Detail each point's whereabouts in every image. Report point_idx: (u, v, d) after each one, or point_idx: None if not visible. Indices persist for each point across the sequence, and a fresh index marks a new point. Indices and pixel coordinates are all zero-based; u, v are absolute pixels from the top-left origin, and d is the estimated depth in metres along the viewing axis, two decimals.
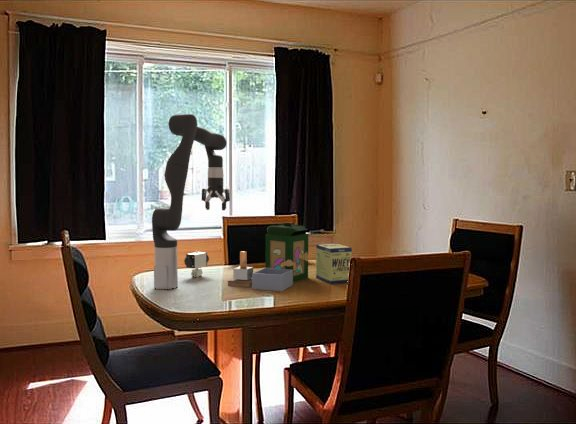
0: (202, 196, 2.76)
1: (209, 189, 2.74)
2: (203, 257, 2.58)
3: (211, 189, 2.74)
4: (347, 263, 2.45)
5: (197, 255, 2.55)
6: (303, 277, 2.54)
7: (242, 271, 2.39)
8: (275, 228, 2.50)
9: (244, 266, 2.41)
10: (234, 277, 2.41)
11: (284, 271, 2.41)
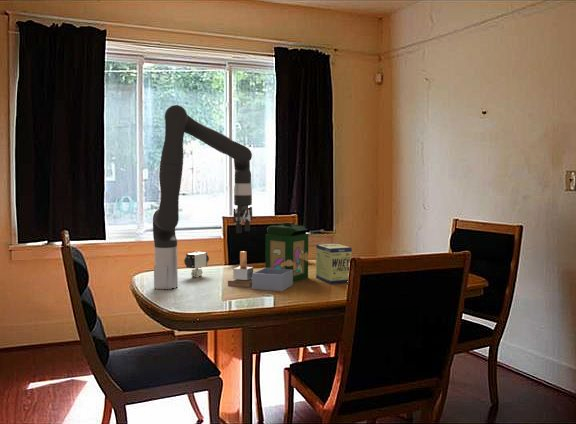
0: (239, 218, 2.34)
1: (242, 209, 2.37)
2: (203, 257, 2.58)
3: (243, 208, 2.39)
4: (347, 263, 2.45)
5: (197, 255, 2.55)
6: (303, 277, 2.54)
7: (242, 271, 2.39)
8: (275, 228, 2.50)
9: (244, 266, 2.41)
10: (234, 277, 2.41)
11: (284, 271, 2.41)
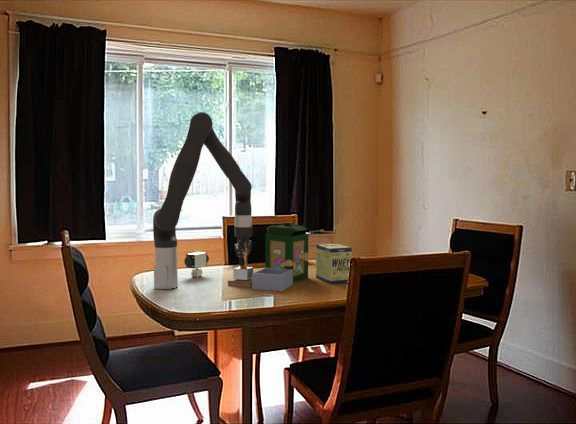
0: (241, 252, 2.37)
1: (242, 240, 2.38)
2: (203, 257, 2.58)
3: (244, 240, 2.40)
4: (347, 263, 2.45)
5: (197, 255, 2.55)
6: (303, 277, 2.54)
7: (242, 271, 2.39)
8: (275, 228, 2.50)
9: (244, 266, 2.41)
10: (234, 277, 2.41)
11: (284, 271, 2.41)
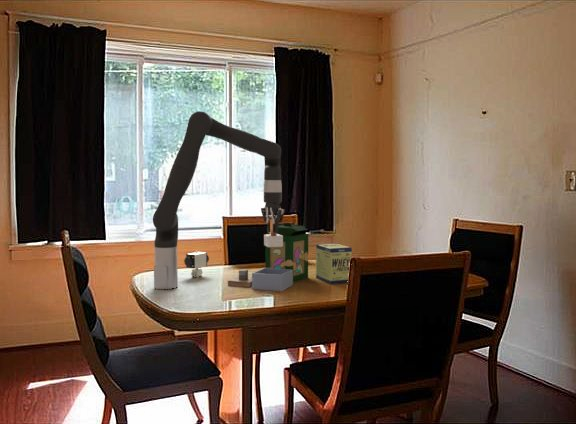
0: None
1: None
2: (203, 257, 2.58)
3: None
4: (347, 263, 2.45)
5: (197, 255, 2.55)
6: (303, 277, 2.54)
7: (277, 238, 2.33)
8: None
9: (276, 233, 2.35)
10: (269, 245, 2.32)
11: (284, 271, 2.41)
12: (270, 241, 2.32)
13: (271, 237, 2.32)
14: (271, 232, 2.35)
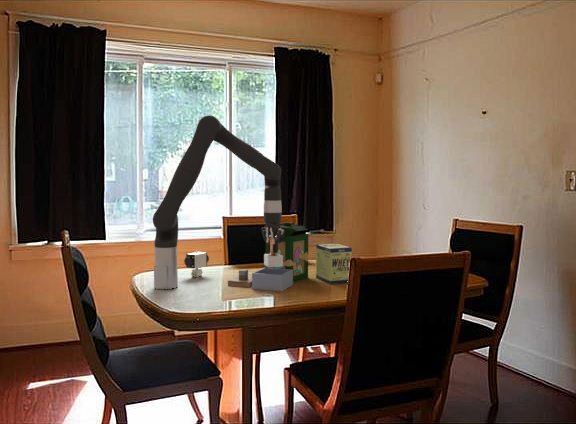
0: None
1: None
2: (203, 257, 2.58)
3: None
4: (347, 263, 2.45)
5: (197, 255, 2.55)
6: (303, 277, 2.54)
7: (277, 258, 2.34)
8: None
9: (276, 253, 2.36)
10: (269, 265, 2.33)
11: (284, 271, 2.41)
12: (270, 261, 2.33)
13: (271, 257, 2.33)
14: (271, 252, 2.35)
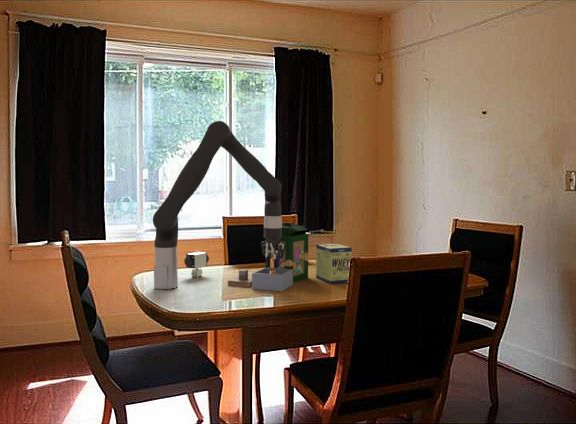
0: None
1: None
2: (203, 257, 2.58)
3: None
4: (347, 263, 2.45)
5: (197, 255, 2.55)
6: (303, 277, 2.54)
7: None
8: None
9: (276, 273, 2.36)
10: None
11: (284, 271, 2.41)
12: None
13: None
14: (271, 272, 2.36)
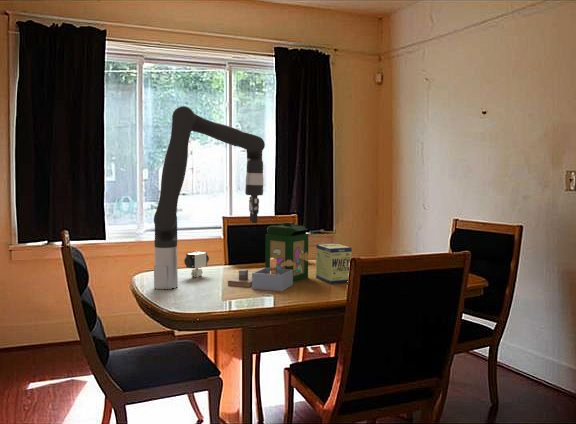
0: None
1: None
2: (203, 257, 2.58)
3: None
4: (347, 263, 2.45)
5: (197, 255, 2.55)
6: (303, 277, 2.54)
7: None
8: (275, 228, 2.50)
9: (276, 273, 2.36)
10: None
11: (284, 271, 2.41)
12: None
13: None
14: (271, 272, 2.36)
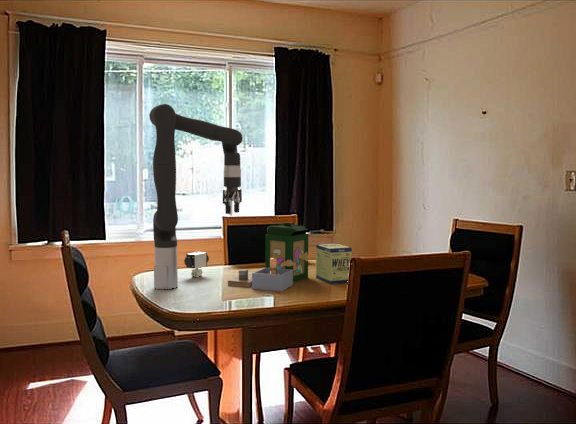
0: (228, 199, 2.40)
1: (231, 190, 2.43)
2: (203, 257, 2.58)
3: (233, 190, 2.44)
4: (347, 263, 2.45)
5: (197, 255, 2.55)
6: (303, 277, 2.54)
7: None
8: (275, 228, 2.50)
9: (276, 273, 2.36)
10: None
11: (284, 271, 2.41)
12: None
13: None
14: (271, 272, 2.36)
